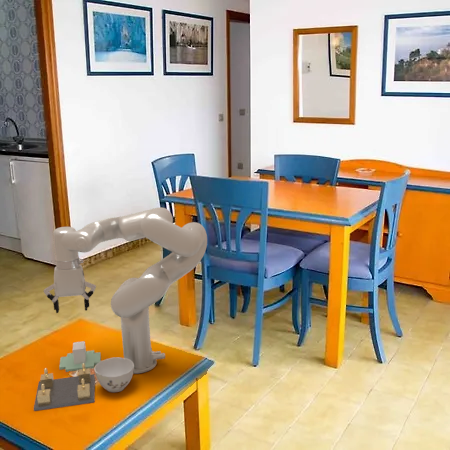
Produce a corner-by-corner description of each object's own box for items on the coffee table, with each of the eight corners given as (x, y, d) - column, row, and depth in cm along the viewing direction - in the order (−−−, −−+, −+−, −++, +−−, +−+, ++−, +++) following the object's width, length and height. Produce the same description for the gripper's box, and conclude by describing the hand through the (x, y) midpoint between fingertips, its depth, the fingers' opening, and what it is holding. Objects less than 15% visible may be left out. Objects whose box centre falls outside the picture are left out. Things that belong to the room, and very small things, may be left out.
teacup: (134, 396, 178) (132, 374, 176) (94, 400, 177) (92, 377, 174) (136, 372, 192) (134, 351, 190) (99, 375, 191) (97, 354, 189)
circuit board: (100, 351, 208) (98, 335, 206) (100, 367, 197) (99, 350, 195) (61, 356, 205) (59, 340, 204) (59, 373, 194) (57, 356, 192)
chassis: (94, 376, 191) (92, 357, 189) (94, 402, 175) (92, 382, 174) (39, 384, 187) (36, 365, 185) (34, 410, 172) (31, 390, 170)
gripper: (94, 258, 195) (98, 304, 200) (42, 261, 193) (47, 308, 197) (93, 265, 188) (97, 312, 193) (39, 269, 185) (44, 317, 190)
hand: (72, 310), depth 195 cm, fingers open, 9 cm apart
